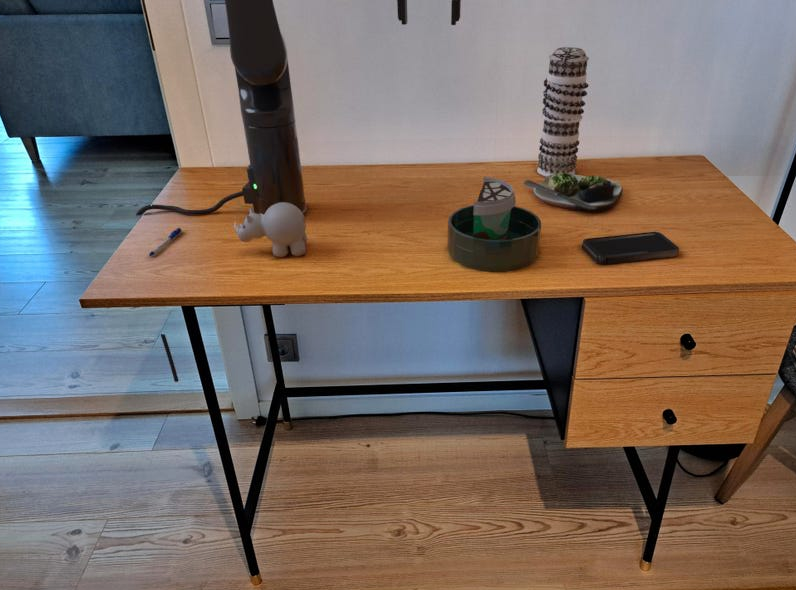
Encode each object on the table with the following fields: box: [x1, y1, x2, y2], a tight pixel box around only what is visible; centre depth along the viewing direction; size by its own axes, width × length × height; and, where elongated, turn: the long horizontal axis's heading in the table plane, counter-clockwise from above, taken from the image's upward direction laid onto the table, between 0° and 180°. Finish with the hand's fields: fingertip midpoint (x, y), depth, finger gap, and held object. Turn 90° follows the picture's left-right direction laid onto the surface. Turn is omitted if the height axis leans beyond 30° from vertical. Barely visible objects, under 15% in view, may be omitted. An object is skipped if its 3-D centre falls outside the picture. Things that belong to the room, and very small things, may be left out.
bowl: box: [447, 204, 542, 273], centre depth 109 cm, size 16×16×6 cm
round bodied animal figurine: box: [233, 202, 308, 258], centre depth 109 cm, size 7×12×8 cm, turn 93°
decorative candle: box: [536, 46, 590, 178], centre depth 136 cm, size 9×9×25 cm
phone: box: [581, 231, 680, 265], centre depth 110 cm, size 8×1×15 cm
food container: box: [473, 176, 517, 240], centre depth 108 cm, size 12×6×10 cm, turn 169°
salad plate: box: [523, 172, 624, 213], centre depth 130 cm, size 19×18×5 cm
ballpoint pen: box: [149, 227, 182, 257], centre depth 113 cm, size 10×1×1 cm, turn 171°
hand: (428, 24), depth 110 cm, fingers open, 8 cm apart
